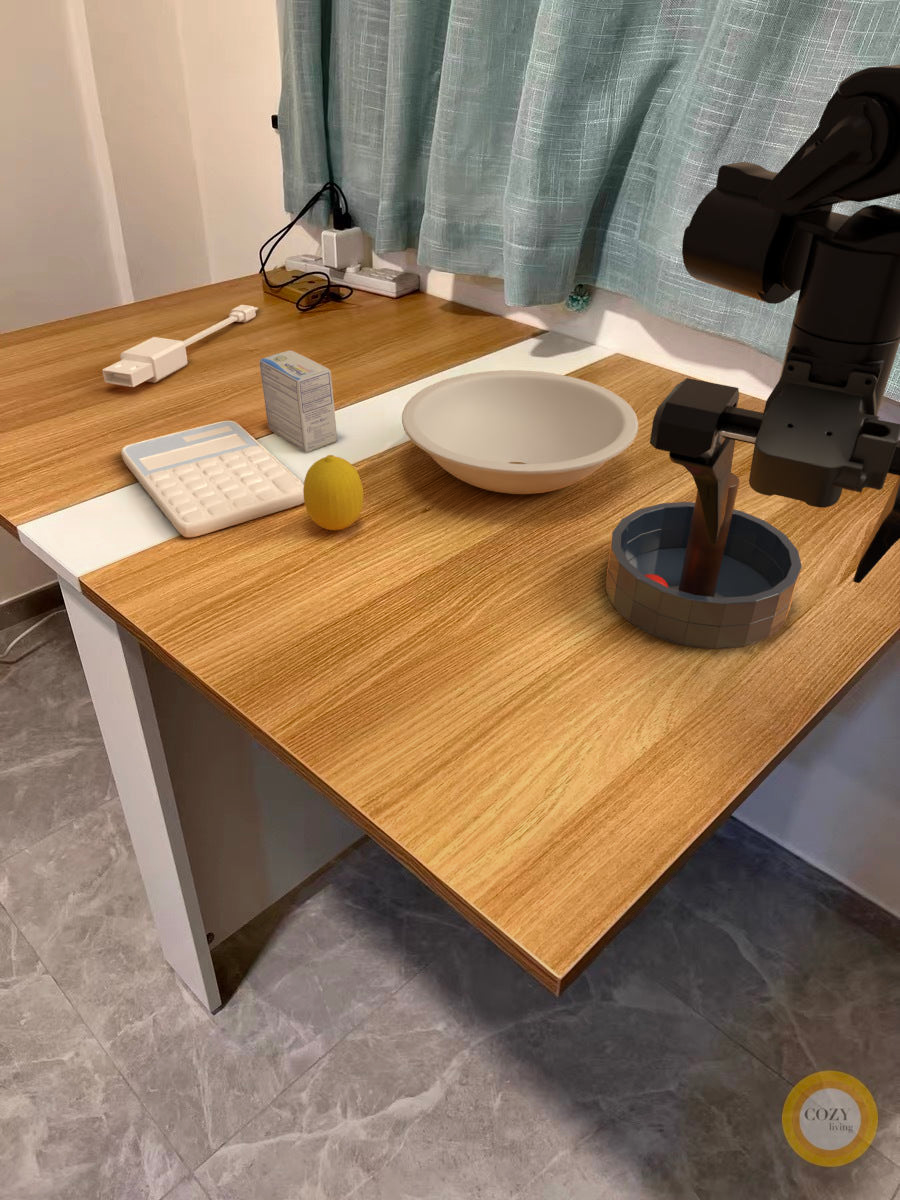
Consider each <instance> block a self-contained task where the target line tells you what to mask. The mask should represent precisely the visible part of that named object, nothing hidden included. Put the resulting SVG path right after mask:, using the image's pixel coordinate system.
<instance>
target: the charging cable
mask: <svg viewBox="0 0 900 1200" xmlns="http://www.w3.org/2000/svg"><path fill="white" fill-rule="evenodd" d="M258 310H259V307H258V306H257V307H256V306H253V305H248V304H247V305H246V304H240V305H238V306H236V307H234V308H232V309H230V313H229V314H228V317H227V318H226V319H223V320H221V321H220V322H217V323H215V324H213V325H211V326H209V327H207V328H205V329H204V330H201V331H200V332H198V333H196V334H194V335H192V336H190V337H188V338H186V339H184V340H179V339H171V338H164V337H157V336H152V337H150V338H148V339H147V340H145V341H143V342H140V343H138V344H137V345H134V346H132V347H130V348H128V349H126V350H124V351H122V352H121V353H119V357H120V360H119V361H117V362H114V363H113V364H111V365H109V366H107V367H104V368H103V369H101V370H102V371H101V372H102V377H103V380H104V383H105V384H112V385H116V386H117V385H118V386H123V387H130V388H134V387H136V386H138V385H140V384H142V383H144V382H149V383H157V382H159V381H161V380H163V379H165V378H167V377H168V376H171V375H172V374H174V373H175V372H177V371H179V370H181V369H183V368H185V367H186V366H187V365H188V364H189V362H188V356H187V350H186V349H187V347H189V346H190V345H192V344H194V343H196V342H198V341H199V340H202V339H204V338H206V337H207V336H209V335H211V334H213V333H215V332H217V331H219V330H221V329H222V328H225V327H226V326H228V325H230V324H232V323H234V322H237V323H247V322H249V321H250V320H252V319H254V318H256V316H257V313H256V311H258Z"/></svg>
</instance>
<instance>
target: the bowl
mask: <svg viewBox="0 0 900 1200" xmlns="http://www.w3.org/2000/svg"><path fill="white" fill-rule="evenodd" d="M694 506H695V501H694V502H693V501H676V502H662V503H658V504H654V505H650V506H647V507H643V508H639V509H637V510H635V511H633V512H631V513H630V514H628V515H627V516H624V517H623V518H621V520H620V521H619V522H618V524H617V525H616V526H615V527H614V529H613V531H611V539H610V547H609V555H608V561H607V568H606V569H607V570H606V578H605V579H606V580H605V592H606V595H607V597H608V599H609V602H610V603H611V605H612V606H613V608H614V609H615V610H616V611H617V613H618V614H619V615H620V616H621V617H623V618H624V619H625V620H626V621H627V622H628V623H630V624H631V625H633V626H634V627H635V628H637V629H639V630H641V631H643V632H644V633H646V634H648V635H651V636H653V637H655V638H658V639H660V640H663V641H665V642H668V643H672V644H676V645H679V646H684V647H689V648H698V649H707V650H726V649H736V648H743V647H747V646H751V645H755V644H758V643H759V642H760V643H761V642H762V641H764V640H766V639H768V638H770V637H772V636H773V635H774V634H776V633H777V632H778V631H779V630H780V629H781V628H782V627H783V626H784V624H785V622H786V620H787V617H788V614H789V612H790V609H791V605H792V602H793V598H794V596H795V593H796V589H797V585H798V581H799V578H800V575H801V574H800V573H801V572H802V568H803V567H802V565H803V564H802V562H801V557H800V553H799V549H798V548H797V547H796V546H795V544H794V543H793V542H792V541H791V540H790V539H789V537H788V536H787V535H786V534H785V532H782V531H781V530H779V529H778V528H776V527H775V526H774V525H772V524H771V523H769V522H768V521H766V520H765V519H762V518H760V517H757V516H755V515H753V514H749V513H748V512H745V511H743V510H738V509H735V508H734V509H733V514H732V518H731V523H730V527H729V532H728V536H727V540H726V545H725V549H724V554H723V558H722V563H721V567H720V572H719V576H718V581H717V585H716V590H715V594H714V597H709V596H700V595H693V594H690V593H686V592H683V591H679V584H680V579H681V574H682V568H683V563H684V558H685V553H686V548H687V542H688V537H689V532H690V527H691V522H692V516H693V511H694ZM647 574H655V575H658V576H660V577H662V578H663V579H664V580H665V581H666V583H667V584H668V587H666V586H664V585H662V584H660V583H658V582H656V581H654V580H652V579H650V578H648V577H646V576H644V575H647Z"/></svg>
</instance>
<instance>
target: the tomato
mask: <svg viewBox="0 0 900 1200" xmlns="http://www.w3.org/2000/svg"><path fill="white" fill-rule="evenodd" d="M644 576H646V577H648V578H650V579H652V580H654V581H656V582H658V583H660V584H662V585H664V586H666V587H668V584H667V583H666V581H665V580H664V579H663V578H662V577H660V576H658V575H655V574H647V575H644Z"/></svg>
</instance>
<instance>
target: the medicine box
mask: <svg viewBox="0 0 900 1200" xmlns="http://www.w3.org/2000/svg"><path fill="white" fill-rule="evenodd" d="M259 370H260V377H261V378H260V379H261V384H262V385H261V386H262V391H263V397H264V400H263V401H264V407H265V414H266V420H267V421H266V422H267V425H268V426H267V427H268V430H269V431H271V432H272V433H274V434H276V435H278V436H279V437H281V438H283V439H284V440H286V441H288V442H289V443H290V444H292V445H294V446H296V447H298V448H299V449H301V450H302V451H304V452H305V453H309V452H312V451H315V450H317V449H320V448H323V447H325V446H328V445H330V444H333V443H336V442H338V431H337V422H336V411H335V401H334V399H335V398H334V390H333V380H332V379H333V378H332V371H331V369H329V368H328V367H326V366H325V365H322V364H320V363H318V362H316V361H314V360H313V359H311V358H308V357H307V356H304V355H303V354H300V353H298V352H296V351H293V350H290V349H289V350H286V351H283V352H279V353H275V354H271V355H269V356H266V357H264V358H261V359H259Z"/></svg>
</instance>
